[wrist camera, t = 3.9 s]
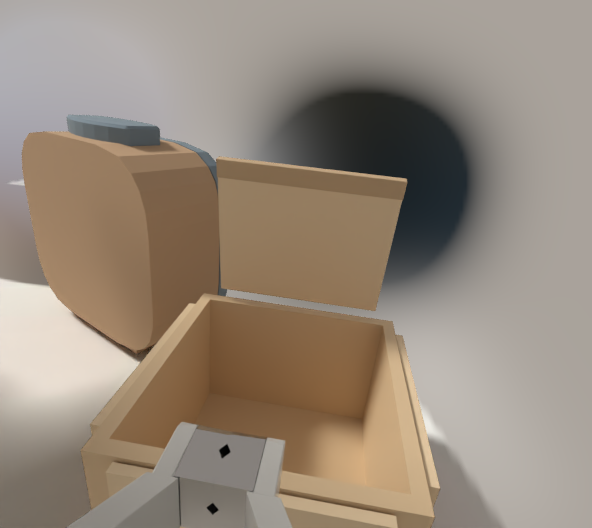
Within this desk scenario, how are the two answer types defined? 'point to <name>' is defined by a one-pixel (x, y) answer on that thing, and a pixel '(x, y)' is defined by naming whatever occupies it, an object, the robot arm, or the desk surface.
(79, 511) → the desk surface
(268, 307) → the carton
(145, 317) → the alarm clock
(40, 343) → the desk surface
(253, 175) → the flap
